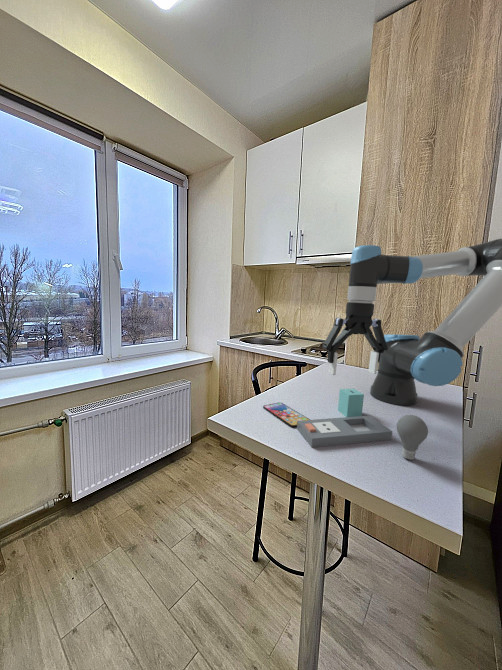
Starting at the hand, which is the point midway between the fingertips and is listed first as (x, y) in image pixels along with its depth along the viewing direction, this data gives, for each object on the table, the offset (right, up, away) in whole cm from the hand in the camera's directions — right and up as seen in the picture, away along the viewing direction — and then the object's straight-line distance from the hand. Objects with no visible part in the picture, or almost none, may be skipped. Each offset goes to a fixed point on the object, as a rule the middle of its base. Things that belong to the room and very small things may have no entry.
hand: (352, 373), depth 81 cm
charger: (0, -13, +2) cm, 13 cm away
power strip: (-7, -14, -11) cm, 19 cm away
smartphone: (-20, -13, -1) cm, 24 cm away
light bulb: (+5, -16, -20) cm, 26 cm away
